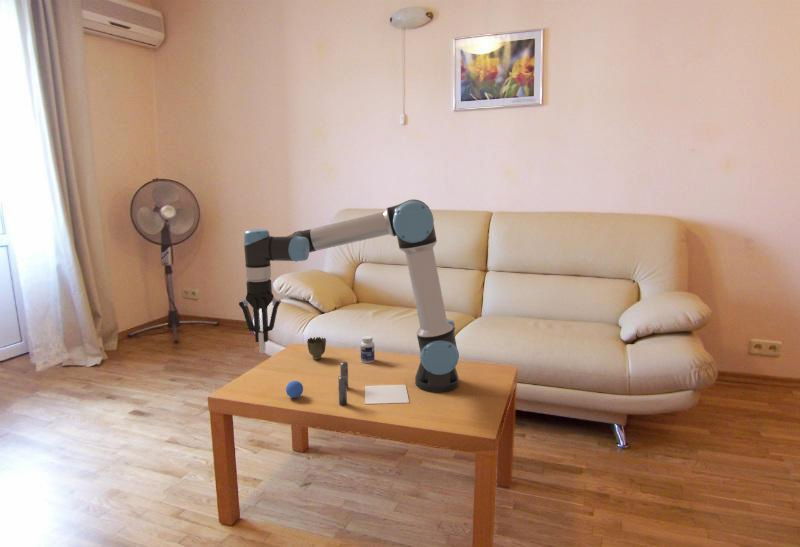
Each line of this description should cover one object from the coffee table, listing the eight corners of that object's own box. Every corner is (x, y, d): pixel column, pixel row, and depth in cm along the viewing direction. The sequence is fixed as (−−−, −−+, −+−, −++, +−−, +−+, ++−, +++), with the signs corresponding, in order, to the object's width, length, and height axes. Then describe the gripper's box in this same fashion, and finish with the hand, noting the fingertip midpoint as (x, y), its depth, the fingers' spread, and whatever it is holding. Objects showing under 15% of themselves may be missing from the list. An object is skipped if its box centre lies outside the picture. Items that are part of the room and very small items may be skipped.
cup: (324, 362, 198) (324, 342, 197) (306, 362, 198) (305, 342, 197) (327, 355, 206) (327, 336, 204) (309, 355, 206) (309, 336, 204)
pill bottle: (359, 362, 197) (358, 338, 196) (363, 358, 203) (362, 334, 201) (372, 364, 196) (372, 339, 194) (376, 359, 201) (375, 335, 200)
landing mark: (405, 385, 176) (405, 384, 176) (409, 402, 163) (409, 402, 163) (365, 386, 175) (365, 385, 175) (365, 404, 162) (365, 403, 162)
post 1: (348, 386, 175) (347, 361, 174) (348, 389, 173) (347, 364, 171) (341, 386, 175) (340, 361, 174) (340, 389, 173) (340, 364, 171)
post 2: (347, 402, 163) (346, 375, 162) (346, 405, 161) (346, 378, 159) (339, 402, 163) (338, 375, 161) (338, 405, 161) (338, 378, 159)
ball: (304, 393, 170) (303, 377, 169) (302, 400, 164) (301, 384, 163) (287, 393, 170) (286, 378, 168) (285, 401, 164) (284, 385, 163)
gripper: (281, 276, 163) (285, 347, 167) (240, 277, 162) (244, 347, 167) (277, 281, 156) (281, 354, 160) (234, 282, 155) (239, 355, 159)
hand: (262, 351), depth 163 cm, fingers closed
